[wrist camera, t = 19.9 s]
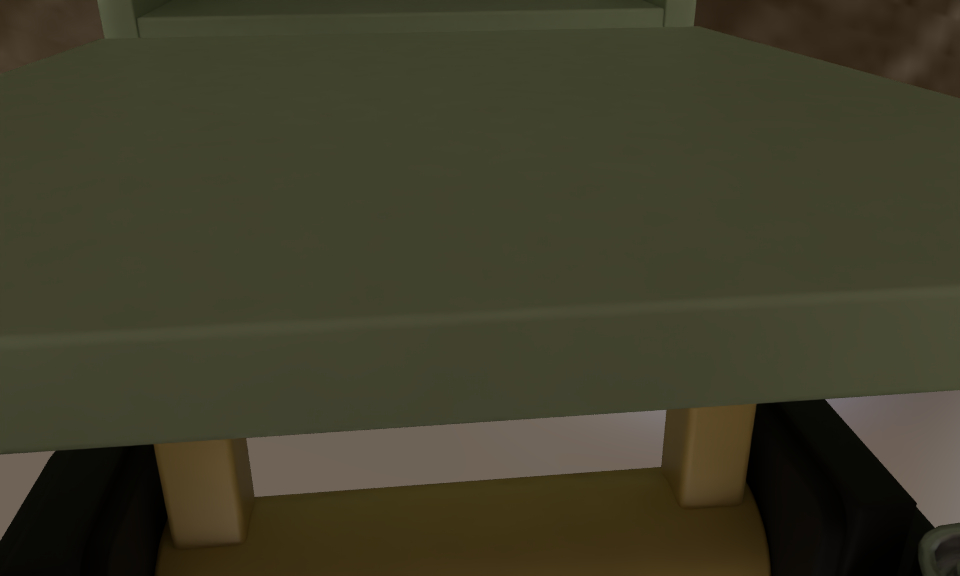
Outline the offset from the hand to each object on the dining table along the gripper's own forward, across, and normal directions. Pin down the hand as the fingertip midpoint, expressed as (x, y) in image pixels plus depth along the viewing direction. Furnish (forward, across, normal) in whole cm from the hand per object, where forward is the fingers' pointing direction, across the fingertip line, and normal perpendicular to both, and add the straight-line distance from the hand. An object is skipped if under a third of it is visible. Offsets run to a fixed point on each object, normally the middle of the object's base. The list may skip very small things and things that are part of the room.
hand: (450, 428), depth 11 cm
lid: (+4, 0, -4) cm, 5 cm away
